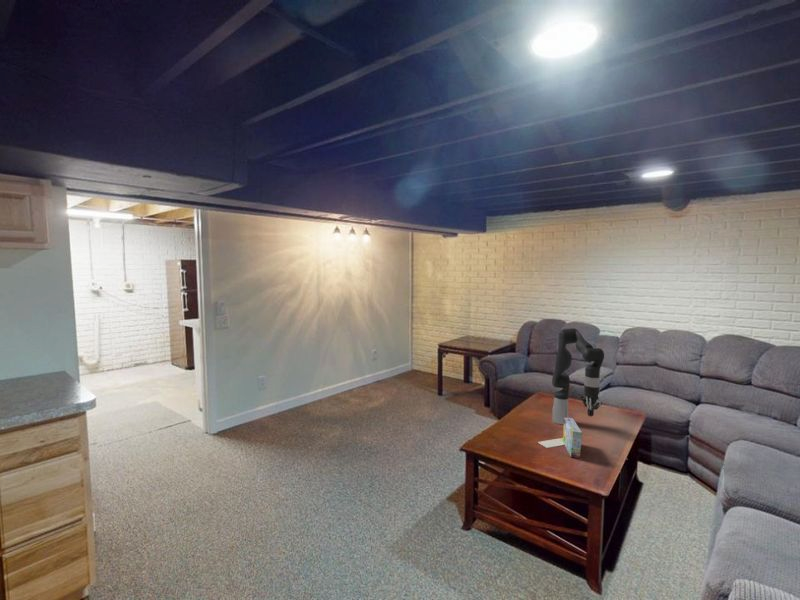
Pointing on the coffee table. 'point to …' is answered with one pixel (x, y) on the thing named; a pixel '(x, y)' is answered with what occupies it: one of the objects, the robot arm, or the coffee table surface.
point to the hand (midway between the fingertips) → (590, 415)
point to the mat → (552, 443)
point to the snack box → (572, 437)
